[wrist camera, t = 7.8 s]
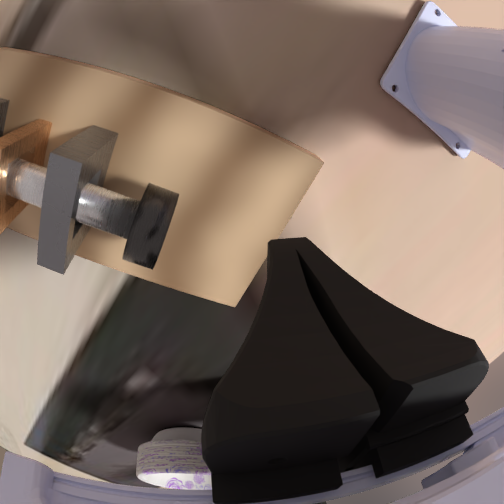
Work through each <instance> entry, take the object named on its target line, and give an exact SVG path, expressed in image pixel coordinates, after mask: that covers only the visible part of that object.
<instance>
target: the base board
mask: <svg viewBox="0 0 504 504" xmlns="http://www.w3.org/2000/svg"><path fill="white" fill-rule="evenodd" d="M0 98H3V99H7V100H10V101H9V106H8V110H7V115H6V121H5V126H4V132H3V136H4V135H6V134H8V133H10V132H12V131H14V130H16V129H18V128H20V127H22V126H24V125H27V124H29V123H31V122H33V121H35V120H38V119H42V120H46V121H49V122H52V127H51V131H50V135H49V140H48V144H47V149H46V154H45V159H44V165H43V167H46V168H47V166H48V161H49V156H50V152H52V151H53V150H55V149H56V148H58V147H59V146H61V145H62V144H64V143H65V142H67V141H68V140H70V139H71V138H73V137H75V136H76V135H78V134H79V133H81V132H83V131H84V130H86V129H88V128H89V127H91V126H93V125H96V126H99V127H102V128H105V129H108V130H111V131H114V132H117V133H119V134H118V137H117V140H116V143H115V146H114V150H113V153H112V156H111V159H110V163H109V166H108V169H107V173H106V176H105V180H104V184H103V187H102V188H105V189H108V190H111V191H113V192H116V193H119V194H122V195H125V196H127V197H130V198H133V199H136V200H139V201H141V199H142V196H143V194H144V192H145V189H146V187H147V185H148V184H149V183H151V184H154V185H157V186H160V187H162V188H165V189H168V190H170V191H173V192H176V193H179V198H178V201H177V205H176V208H175V211H174V214H173V217H172V220H171V223H170V226H169V229H168V231H167V234H166V237H165V240H164V243H163V246H162V248H161V251H160V254H159V256H158V259H157V262H156V264H155V266H154V268H153V270H152V269H149V268H146V267H143V266H140V265H137V264H134V263H131V262H128V261H126V260H123V259H122V257H123V253H124V249H125V245H126V241H127V239H124V238H122V237H119V236H116V235H113V234H110V233H108V232H105V231H102V230H99V229H96V228H94V227H91V228H90V230H89V232H88V233H87V235H86V237H85V238H84V240H83V241H82V243H81V245H80V247H79V248H78V250H77V252H76V253H75V255H77V256H80V257H83V258H85V259H88V260H91V261H94V262H96V263H99V264H102V265H105V266H107V267H110V268H113V269H116V270H119V271H122V272H125V273H128V274H130V275H133V276H136V277H139V278H142V279H145V280H148V281H151V282H154V283H157V284H161V285H164V286H167V287H170V288H173V289H176V290H179V291H183V292H186V293H189V294H192V295H195V296H199V297H202V298H205V299H209V300H212V301H215V302H219V303H222V304H226V305H229V306H232V307H235V306H236V305H237V303H238V302H239V300H240V298H241V297H242V295H243V294H244V292H245V290H246V289H247V287H248V286H249V284H250V283H251V281H252V279H253V278H254V276H255V275H256V273H257V271H258V270H259V268H260V266H261V265H262V263H263V262H264V260H265V258H266V257H267V249H268V242H269V241H270V240H272V239H278V237H279V236H280V234H281V233H282V231H283V229H284V228H285V226H286V224H287V223H288V221H289V220H290V218H291V216H292V215H293V213H294V211H295V210H296V208H297V207H298V205H299V203H300V202H301V200H302V198H303V197H304V195H305V193H306V192H307V190H308V188H309V187H310V185H311V184H312V182H313V180H314V179H315V177H316V175H317V174H318V172H319V170H320V169H321V167H322V165H323V164H324V162H323V161H322V160H321V159H320V158H319V157H318V156H317V155H315V154H313V153H311V152H309V151H307V150H306V149H304V148H302V147H300V146H298V145H296V144H294V143H292V142H290V141H288V140H286V139H284V138H282V137H280V136H278V135H276V134H274V133H272V132H270V131H267V130H265V129H263V128H261V127H259V126H257V125H255V124H253V123H250V122H248V121H246V120H244V119H241V118H239V117H237V116H235V115H232V114H230V113H228V112H225V111H223V110H221V109H218V108H216V107H214V106H211V105H209V104H206V103H204V102H201V101H199V100H196V99H194V98H191V97H188V96H186V95H183V94H181V93H178V92H175V91H172V90H170V89H167V88H164V87H161V86H158V85H156V84H153V83H150V82H147V81H144V80H141V79H138V78H135V77H131V76H128V75H125V74H122V73H118V72H115V71H112V70H108V69H105V68H101V67H98V66H94V65H90V64H86V63H82V62H78V61H74V60H70V59H66V58H62V57H57V56H52V55H48V54H43V53H38V52H32V51H27V50H21V49H15V48H8V47H1V48H0ZM18 158H20V157H18ZM40 216H41V208H40V207H37V206H35V205H32V204H30V203H29V204H28V205H27V206H26V208H25V209H24V210H23V211H22V212H21V213H20V214H19V215H18V216H17V217H16V218H15V219H14V220H13V221H12V222H11V223H10V224H9V225H8V226H7V228H9V229H11V230H14V231H16V232H19V233H21V234H23V235H26V236H28V237H31V238H33V239H36V240H38V239H39V226H40Z"/></svg>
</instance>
